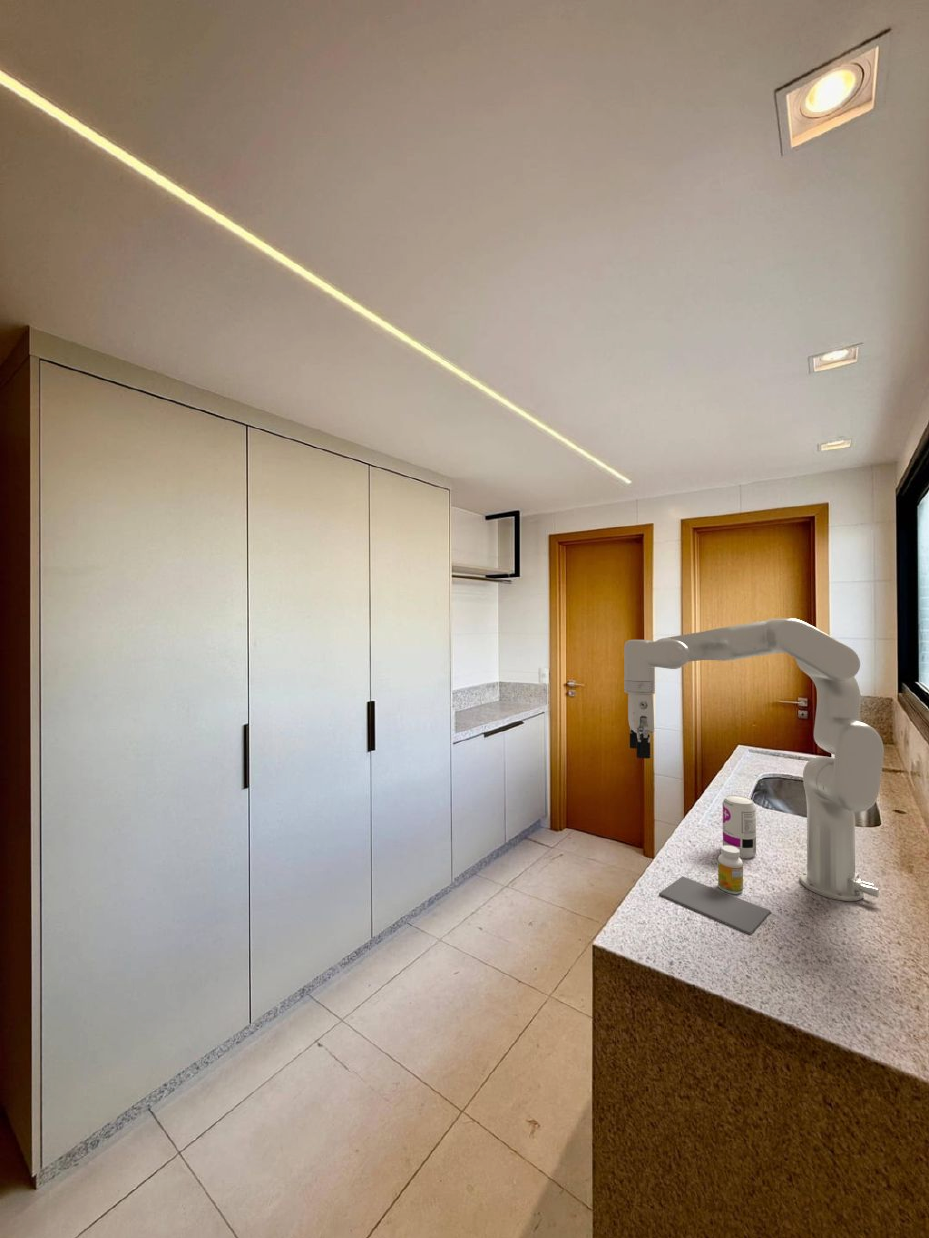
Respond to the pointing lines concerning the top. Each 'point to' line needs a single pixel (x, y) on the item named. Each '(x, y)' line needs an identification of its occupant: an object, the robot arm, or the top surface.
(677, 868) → the top surface
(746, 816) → the supplement can
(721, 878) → the supplement bottle
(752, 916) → the mat
